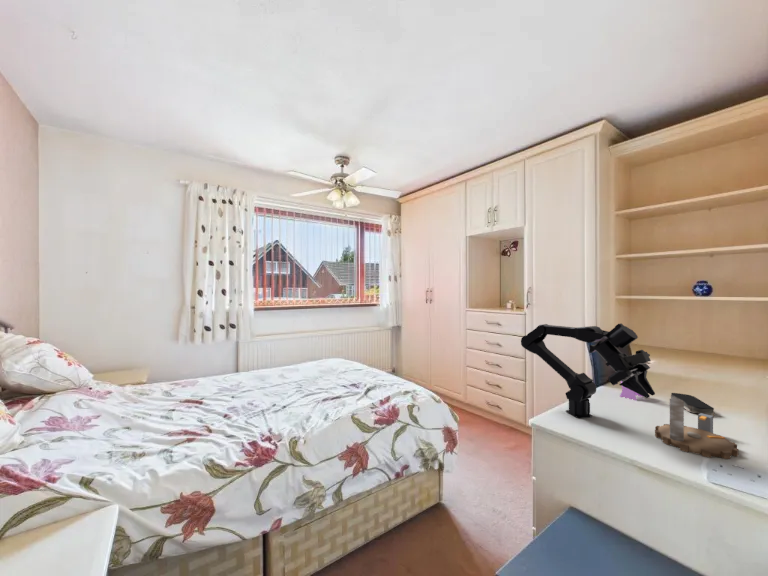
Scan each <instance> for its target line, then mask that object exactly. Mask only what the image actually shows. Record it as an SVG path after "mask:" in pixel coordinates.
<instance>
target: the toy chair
mask: <svg viewBox="0 0 768 576" xmlns="http://www.w3.org/2000/svg"><path fill="white" fill-rule="evenodd" d="M621 383H622V381H620V384H621ZM637 395H638V396H637ZM641 396H642V395H640V394H638V393H636V392H634V391H632V390H630V389H628V388H626V387H624V386H621V393H620V395H619V397H620V398H623V397H625V398H624V399H627V398H629V400H632V399H633V400H632V401H636V400H638V399H637V397H641ZM641 398H645V397H644V396H642V397H641Z"/></svg>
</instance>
